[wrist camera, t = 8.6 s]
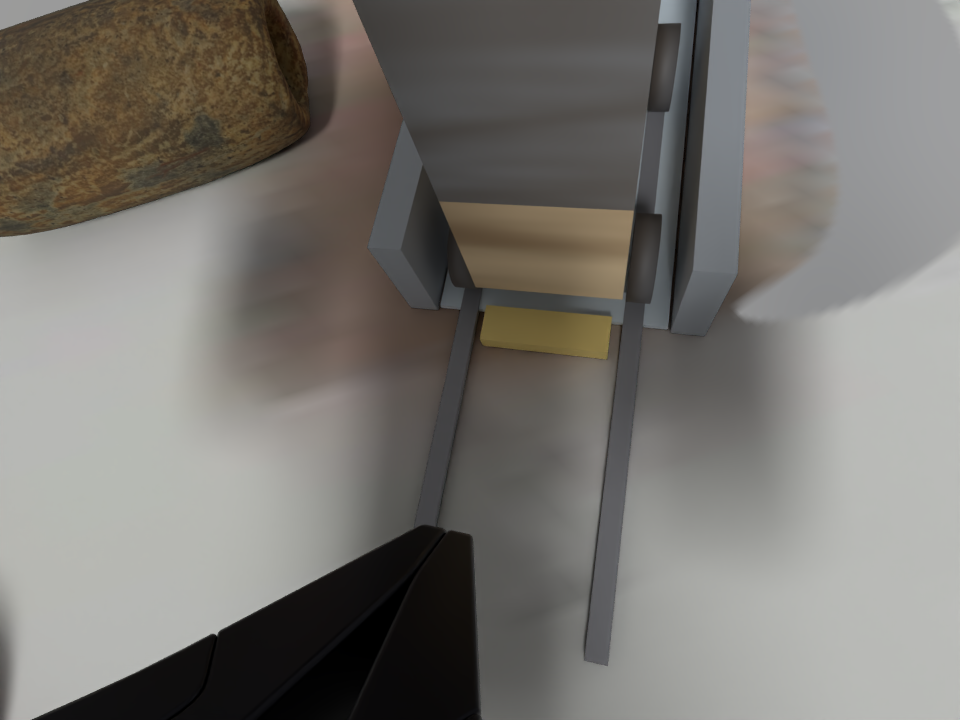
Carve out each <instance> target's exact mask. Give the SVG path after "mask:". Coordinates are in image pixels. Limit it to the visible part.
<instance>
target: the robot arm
mask: <svg viewBox="0 0 960 720" xmlns="http://www.w3.org/2000/svg"><path fill="white" fill-rule="evenodd" d="M32 720H482V718H481V699H480V678H479V656H478V635H477V614H476V593H475V572H474V551H473V538H472V536H471V535H469V534H465V533H461V532H457V531H452V530H451V531H448V532H446V530H445V529H443V528H439V527H435V526H431V525H426V524H423V525H420V526H418V527H416V528H414V529H412V530H410V531H408V532H406V533H405V534H403V535H401V536H399V537H397V538H395V539H393V540H391V541H389V542H387V543H385V544H384V545H382V546H380V547H378V548H376V549H374V550H372V551H370V552H368V553H366V554H365V555H363V556H361V557H359V558H357V559H355V560H353V561H351V562H349V563H347V564H346V565H344V566H342V567H340V568H338V569H336V570H334V571H332V572H330V573H328V574H327V575H325V576H323V577H321V578H319V579H317V580H315V581H313V582H311V583H309V584H308V585H306V586H304V587H302V588H300V589H298V590H296V591H294V592H292V593H290V594H289V595H287V596H285V597H283V598H281V599H279V600H277V601H275V602H273V603H271V604H270V605H268V606H266V607H264V608H262V609H260V610H258V611H256V612H254V613H252V614H251V615H249V616H247V617H245V618H243V619H241V620H239V621H237V622H235V623H233V624H231V625H230V626H228V627H226V628H224V629H222V630H220V631H219V632H218V634H217V636H216V635H215V634H210V635H209V636H207V637H205V638H203V639H201V640H199V641H197V642H195V643H193V644H191V645H190V646H188V647H186V648H184V649H182V650H180V651H178V652H176V653H174V654H172V655H170V656H168V657H166V658H164V659H162V660H160V661H158V662H156V663H154V664H152V665H150V666H148V667H146V668H144V669H142V670H140V671H138V672H136V673H134V674H132V675H129V676H127V677H125V678H123V679H121V680H119V681H116V682H114V683H112V684H110V685H108V686H105V687H103V688H101V689H99V690H97V691H95V692H92V693H90V694H88V695H86V696H84V697H81V698H79V699H77V700H75V701H73V702H70V703H68V704H66V705H64V706H61V707H59V708H57V709H54V710H52V711H50V712H48V713H45V714H43V715H41V716H39V717H36V718H34V719H32Z"/></svg>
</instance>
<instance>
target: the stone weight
mask: <svg viewBox="0 0 960 720" xmlns="http://www.w3.org/2000/svg"><path fill="white" fill-rule="evenodd" d="M307 88H308V76H307V67H306V63H305V60H304V57H303V53H302V49H301V46H300V43H299V41H298V39H297V37H296V35H295V33H294V31H293V29H292V27H291V25H290V23H289V21H288V19H287V17H286V15H285V13H284V12H283V10H282V8H281V7H280V5H279V3H278V1H277V0H89V1H86V2H83V3H80V4H77V5H74V6H70V7H68V8H65V9H62V10H58V11H55V12H53V13H50V14H46V15H44V16H41V17H38V18H35V19H32V20H29V21H26V22H22V23H19V24H17V25H14V26H11V27H8V28H5V29H2V30H0V237H7V236H17V235H27V234H33V233H38V232H44V231H49V230H53V229H57V228H62V227H66V226H70V225H74V224H77V223H81V222H85V221H87V220H91V219H94V218H97V217H101V216H105V215H109V214H112V213H115V212H118V211H121V210H125V209H128V208H131V207H135V206H138V205H141V204H144V203H147V202H151V201H154V200H157V199H159V198H162V197H165V196H168V195H172V194H175V193H178V192H181V191H184V190H187V189H190V188H193V187H196V186H199V185H202V184H205V183H208V182H211V181H213V180H216V179H218V178H221V177H223V176H225V175H227V174H229V173H232V172H234V171H237V170H241V169H243V168H245V167H248V166H250V165H252V164H255V163H257V162H259V161H261V160H263V159H265V158H267V157H269V156H271V155H273V154H275V153H277V152H278V151H280V150H281V149H283V148H285V147H287V146H289V145H290V144H292V143H294V142H295V141H297V140H298V139H299V138H301V137H302V136H303V135H304V134H305V133H306V132H307V130H308V129H309V126H310V112H309V99H308V94H307Z"/></svg>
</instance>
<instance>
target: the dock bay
mask: <svg viewBox="0 0 960 720" xmlns="http://www.w3.org/2000/svg"><path fill="white" fill-rule="evenodd" d="M696 4H697V0H661V5H660V12H659V20H658V24H663V23H681V34H680V43H679V52H678V59H677V67H676V74H675V81H674V87H673V93H672V99H671V104H670V109H669V112H647V113H646V121H645V129H644V137H643V145H642V152H641V160H640V168H639V176H638V183H637V191H636V199H635V207H634V215H633V222H632V230H631V238H630V246H629V253H628V261H627V269H626V277H625V285H624V292H623V300H620V299H608V298H597V297H585V296H573V295H562V294H550V293H538V292H527V291H515V290H503V289H492V288H480V289H471V288H459V287H455V286H454V285H453V284H452V282H451V279H450V276H449V270H448V273H447V269H448V261H447V245H448V234H449V228H450V226H449V224H448V221H447V219H446V217H445V214H444V212H443V210H442V207H441V205H440V203H439V201H438V198H437V196H436V194H435V191H434V189H433V187H432V184H431V182H430V180H429V177H428V175H427V173H426V170H425V168H424V166H423V163H422V161H421V159H420V156H419V154H418V152H417V149H416V147H415V145H414V142H413V140H412V138H411V135H410V133H409V131H408V128H407V126H406V124H405V121H404V119H403V121H402V125H401V129H400V132H399V136H398V139H397V143H396V146H395V150H394V154H393V157H392V161H391V164H390V168H389V171H388V175H387V179H386V182H385V186H384V189H383V193H382V196H381V200H380V204H379V207H378V211H377V214H376V218H375V222H374V225H373V229H372V232H371V236H370V239H369V243H368V247H367V248H368V249H369V251H370V252H371V253H372V255H373V256H374V258H375V259H376V260H377V262H378V263H379V264H380V266H381V267H382V268H383V270H384V271H385V273H386V274H387V275H388V277H389V278H390V279H391V281H392V282H393V284H394V285H395V286H396V288H397V289H398V290H399V292H400V293H401V295H402V296H403V297H404V299H405V300H406V301H407V303H408V304H409V306H410V307H411V308H421V309H431V310H438V309H439V305H440V306H441V308H449V309H459V310H460V313H459V318H458V323H457V327H456V332H455V337H454V341H453V346H452V351H451V355H450V360H449V365H448V369H447V374H446V379H445V384H444V388H443V393H442V398H441V402H440V407H439V412H438V416H437V421H436V426H435V430H434V435H433V440H432V444H431V449H430V454H429V459H428V463H427V468H426V473H425V477H424V482H423V487H422V491H421V496H420V501H419V505H418V510H417V515H416V519H415V524H414V528H416V527H418V526H420V525H423V524H426V525H431V526H435V527H436V525H437V520H438V515H439V510H440V505H441V500H442V495H443V490H444V485H445V480H446V475H447V470H448V465H449V460H450V455H451V451H452V446H453V441H454V436H455V431H456V426H457V421H458V416H459V411H460V406H461V401H462V396H463V391H464V386H465V381H466V376H467V371H468V366H469V361H470V356H471V351H472V346H473V341H474V336H475V331H476V327H477V322H478V317H479V312H485V315H484V320H483V325H482V330H481V335H480V341H481V343H482V344H483V346H491V347H500V348H509V349H518V350H526V351H535V352H544V353H553V354H562V355H571V356H580V357H589V358H598V359H607V356H608V348H609V340H610V331H611V324H615V325H623V327H622V335H621V344H620V353H619V362H618V370H617V379H616V388H615V396H614V405H613V414H612V422H611V431H610V440H609V449H608V457H607V466H606V475H605V483H604V492H603V501H602V509H601V518H600V527H599V536H598V544H597V553H596V562H595V570H594V579H593V588H592V596H591V605H590V614H589V623H588V631H587V640H586V649H585V657H584V660H585V661H589V662H593V663H597V664H601V665H605V666H608V659H609V649H610V640H611V630H612V620H613V611H614V601H615V591H616V581H617V572H618V562H619V552H620V543H621V533H622V523H623V513H624V504H625V494H626V484H627V475H628V465H629V455H630V446H631V436H632V426H633V416H634V407H635V397H636V387H637V378H638V368H639V358H640V348H641V339H642V329H643V327H646V328H656V329H668V323H669V311H670V300H671V289H672V277H673V266H674V255H675V243H676V232H677V220H678V209H679V198H680V186H681V175H682V163H683V152H684V141H685V129H686V118H687V107H688V95H689V84H690V72H691V61H692V50H693V38H694V27H695V16H696ZM750 6H751V0H699V7H698V18H697V30H696V42H695V53H694V65H693V76H692V88H691V100H690V111H689V123H688V134H687V146H686V158H685V169H684V181H683V192H682V204H681V216H680V227H679V239H678V250H677V262H676V273H675V285H674V297H673V308H672V320H671V331H670V333H677V334H687V335H697V336H705V335H706V333H707V331H708V329H709V327H710V325H711V323H712V321H713V320H714V318H715V316H716V314H717V312H718V310H719V308H720V306H721V304H722V303H723V301H724V299H725V297H726V295H727V293H728V291H729V289H730V287H731V286H732V284H733V282H734V280H735V278H736V276H737V274H738V256H739V235H740V214H741V193H742V173H743V152H744V131H745V110H746V89H747V69H748V48H749V27H750ZM650 84H651V82H650ZM649 92H650V90H649ZM648 101H649V98H648ZM647 110H648V106H647ZM636 213H651V214H662V228H661V239H660V248H659V256H658V264H657V271H656V278H655V284H654V290H653V295H652V300H651V303H650V304H644V303H632V302H626V293H627V283H628V275H629V266H630V258H631V250H632V242H633V234H634V226H635V218H636ZM446 274H447V277H446ZM445 278H446V281H445ZM444 282H445V286H444ZM443 287H444V290H443ZM442 291H443V295H442ZM441 296H442V299H441ZM440 300H441V304H440Z"/></svg>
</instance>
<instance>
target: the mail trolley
mask: <svg viewBox="0 0 960 720" xmlns="http://www.w3.org/2000/svg"><path fill="white" fill-rule="evenodd" d="M353 3H354V5H355V7H356V10H357V12H358V14H359V17H360V19H361V21H362V24H363V26H364V28H365V31H366V33H367V35H368V38H369V40H370V42H371V45H372V47H373V49H374V52H375V54H376V56H377V59H378V61H379V63H380V66H381V68H382V70H383V73H384V75H385V77H386V80H387V82H388V84H389V86H390V89H391V91H392V93H393V96H394V98H395V100H396V103H397V105H398V107H399V110H400V112H401V114H402V117H403V119H404V121H405V124H406V126H407V128H408V131H409V133H410V135H411V138H412V140H413V142H414V145H415V147H416V149H417V152H418V154H419V156H420V159H421V161H422V163H423V166H424V168H425V170H426V173H427V175H428V177H429V180H430V182H431V184H432V187H433V189H434V191H435V194H436V196H437V198H438V201H439V203H440V205H441V207H442V210H443V212H444V214H445V217H446V219H447V221H448V224H449V226H450V228H449V234H448V245H447V261H448V270H449V276H450V279H451V282H452V284H453V285H454V286H455V287H459V288H471V289H480V288H492V289H503V290H515V291H527V292H538V293H550V294H562V295H573V296H585V297H597V298H608V299H620V300H623V292H624V285H625V277H626V269H627V261H628V253H629V246H630V238H631V230H632V222H633V215H634V207H635V199H636V191H637V183H638V176H639V168H640V160H641V152H642V145H643V137H644V129H645V121H646V113H647V112H669V109H670V104H671V99H672V93H673V87H674V81H675V74H676V67H677V59H678V52H679V43H680V34H681V23H663V24H658V20H659V12H660V5H661V0H353ZM650 82H651V84H650ZM649 90H650V92H649ZM648 98H649V101H648ZM647 106H648V110H647ZM661 228H662V214H651V213H636V218H635V226H634V234H633V242H632V250H631V258H630V266H629V275H628V283H627V293H626V302H632V303H644V304H650V303H651V300H652V295H653V290H654V284H655V278H656V271H657V264H658V256H659V248H660V239H661Z"/></svg>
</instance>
